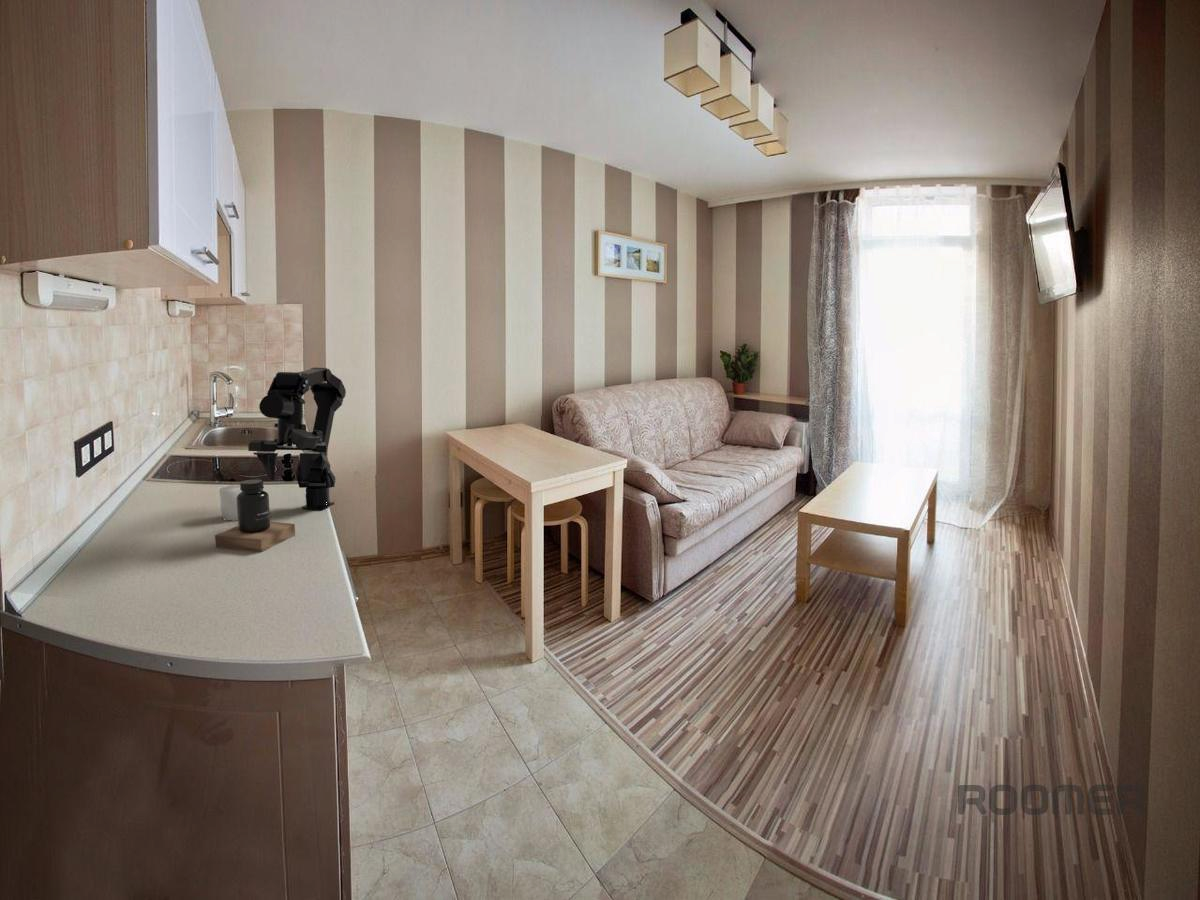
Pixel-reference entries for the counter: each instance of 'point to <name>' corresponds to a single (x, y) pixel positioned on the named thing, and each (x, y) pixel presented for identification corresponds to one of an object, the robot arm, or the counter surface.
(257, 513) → the supplement bottle
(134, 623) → the counter surface
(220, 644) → the counter surface
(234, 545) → the walnut plinth
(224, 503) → the white rounded block
